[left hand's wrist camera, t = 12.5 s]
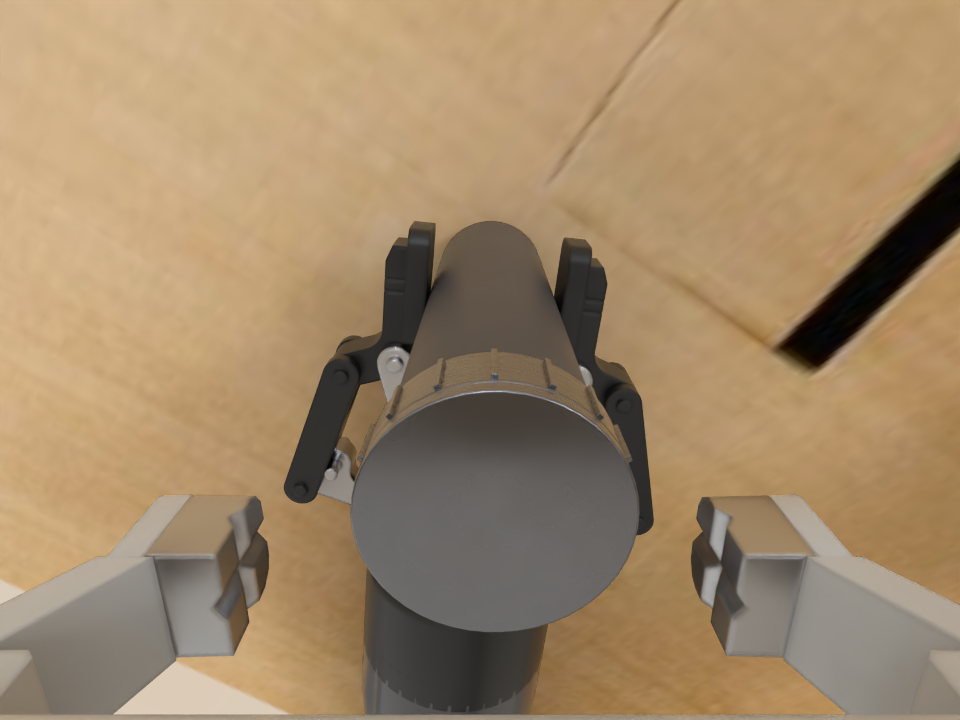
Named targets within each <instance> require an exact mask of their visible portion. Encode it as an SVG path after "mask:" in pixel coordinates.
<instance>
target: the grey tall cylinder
mask: <svg viewBox="0 0 960 720" xmlns="http://www.w3.org/2000/svg"><path fill="white" fill-rule="evenodd" d="M491 348H497V352H506V353H514V354H522V355H525V356H529V357H533V358H537V359H540V360H543V361H544V359H545V358H548V359H550V360H551V364H553V365H555V366H557V367H559V368H560V369H562V370H564V371H566V372H568V373H569V374H571V375H572V376H573V377H575V378H576V379H577V380H579V381H580V382H582V383H583V384H584V385H585V386H586V384H585V381H584V379H583V376H582V373H581V370H580V368H579V365H578V362H577V359H576V357H575V354H574V351H573V348H572V346H571V343H570V340H569V337H568V335H567V332H566V329H565V326H564V324H563V321H562V318H561V315H560V313H559V310H558V307H557V304H556V302H555V299H554V296H553V294H552V291H551V288H550V285H549V283H548V280H547V277H546V274H545V272H544V269H543V266H542V263H541V261H540V258H539V255H538V253H537V250H536V248H535V246H534V245H533V243H532V242H531V240H530V239H529V238H528V237H527V236H526V235H525V234H524V233H523V232H521V231H520V230H519V229H517V228H515V227H513V226H511V225H509V224H505V223H502V222H495V221H486V222H480V223H476V224H473V225H471V226H468V227H466V228H465V229H463V230H461V231H460V232H459V233H458V234H456V235H455V236H454V237H453V238H452V240H451V241H450V242H449V244H448V245H447V247H446V249H445V251H444V253H443V256H442V259H441V262H440V265H439V268H438V271H437V274H436V277H435V280H434V283H433V286H432V289H431V292H430V295H429V298H428V302H427V305H426V308H425V311H424V314H423V317H422V320H421V323H420V326H419V329H418V332H417V335H416V338H415V341H414V344H413V347H412V350H411V353H410V357H409V360H408V363H407V366H406V369H405V372H404V375H403V378H402V381H401V384H400V386H401V387H402V386H403V385H404V384H405V383H407V382H408V381H409V380H411V379H412V378H413V377H415V376H416V375H418V374H419V373H420V372H422V371H424V370H426V369H428V368H430V367H431V366H433V365H435V364H437V362H438V359H440V358H444V360H445V361H446V360H448V359H451V358H455V357H459V356H463V355H467V354H474V353H482V352H491Z"/></svg>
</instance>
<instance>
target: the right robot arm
mask: <svg viewBox="0 0 960 720" xmlns="http://www.w3.org/2000/svg"><path fill="white" fill-rule="evenodd" d="M434 242H435V223H428V222H418V221H414V223H413V224H412V225H411V227H410V229H409V235H408V238H400V237H399V238H398V239H397V240H396V242H395V243H394V244H393V246H392V248H391V250H390V252H389V254H388V257H387V259H386V265H385V286H384V289H385V291H384V308H383V329H382V331H381V332H380V333H378V334H376V335H372V336H368V337H364V338H362V337H359V336H349V337H346V338H345V339H343V340H342V342H341V343H340V345H339V346H338V348H337V350H336V353H335V355H334V356H333V358H331V359H330V360H329V362H328V363H327V365H326V366H325V368H324V370H323V373H322V376H321V379H320V382H319V385H318V388H317V390H316V393H315V396H314V399H313V402H312V405H311V408H310V411H309V414H308V417H307V420H306V423H305V426H304V428H303V431H302V434H301V437H300V440H299V443H298V446H297V449H296V452H295V455H294V458H293V461H292V463H291V466H290V469H289V472H288V475H287V478H286V481H285V484H284V491H285V493H286V495H287V496H288V498H290V499H291V500H292V501H294V502H297V503H308V502H311V501H312V500H313V499H314V498H315V497H316V495H317V493H318V494H321V495H324V496H327V497H330V498H333V499H336V500H339V501H341V502H344V503H347V504H350V505H351V496H352V491H353V487H354V482H355V479H356V476H357V473H358V471H359V469H358V467H357V465H356V462H355V457H356V449H355V447H354V445H353V444H352V443H351V442H350V440H349V439H348V438H346V437H341V436H342V433H343V430H344V428H345V425H346V422H347V419H348V417H349V414H350V411H351V409H352V406H353V403H354V400H355V398H356V395H357V392H358V390H359V387H360V385H361V384H366V383H370V382H374V381H379V380H381V382H382V385H383V389H384V392H385V396H386V399H387V403H388V402H389V401H390V399H391V398H392V395H393V392H394V390H395V387H396V386H397V385H400V384H401V381H402V378H403V375H404V372H405V369H406V366H407V363H408V360H409V357H410V353H411V350H412V347H413V344H414V341H415V338H416V335H417V332H418V329H419V326H420V323H421V320H422V317H423V314H424V311H425V308H426V305H427V302H428V298H429V295H430V292H431V282H432V269H433V256H434ZM606 288H607V280H606V276H605V271H604V268H603V266H602V265H601V264H600V262H599V261H598V260H597V259H595V258H592V248H591V246H590V245H589V244H588V243H587V241H586V240H583V239H574V238H564V240H563V243H562V248H561V255H560V261H559V268H558V274H557V281H556V288H555V294H554V299H555V302H556V304H557V307H558V310H559V313H560V315H561V318H562V321H563V324H564V326H565V329H566V332H567V335H568V337H569V340H570V343H571V346H572V348H573V351H574V354H575V357H576V359H577V362H578V365H579V368H580V370H581V373H582V376H583V379H584V381H585V384H586V387H587V386H589V385H591V386H592V387H593V388H594V391H595V394H596V396H597V399H598V400H599V402H600V403H601V404H602V406H603V407H604V409H605V411H606V412H607V414H608V416H609V418H610V419H611V422H612V424H613V425H616V424H618V427H619V429H620V431H621V434H622V436H623V439H624V441H625V443H626V446H627V448H628V451H629V453H630V455H631V458H632V461H631V462H628V464H629V466H630V469H631V471H632V474H633V477H634V479H635V483H636V487H637V492H638V497H639V522H638V530H637V534H636V535H641V534H644V533H646V532H647V531H649V530H650V529H651V527H652V525H653V522H654V518H653V508H652V498H651V488H650V478H649V468H648V458H647V448H646V439H645V429H644V419H643V409H642V401H641V398H640V396H639V394H638V392H637V390H636V388H635V387H634V385H633V383H632V381H631V379H630V377H629V375H628V374H627V372H626V370H625V368H624V367H623V366H622V365H620V364H618V363H613V362H611V363H608V362H606V361H604V360H601V359H599V358H598V357H596V356H595V348H596V343H597V337H598V332H599V327H600V321H601V316H602V310H603V305H604V299H605V294H606ZM547 626H548V624H546V625H543V626H539V627H536V628H531V629H526V630H521V631H511V632H478V631H469V630H464V629H459V628H454V627H450V626H447V625H444V624H441V623H438V622H435V621H433V620H430V619H428V618H426V617H424V616H421V615H419V614H418V613H416V612H414V611H412V610H411V609H409V608H407V607H406V606H404V605H403V604H402V603H400V602H399V601H398V600H396V599H395V598H394V597H392V596H391V595H390V594H389V593H388V592H387V591H386V590H385V589H384V588H383V587H382V586H381V585H380V584H379V583H378V581H377V580H376V579H375V578H374V576H373V575H372V574H371V573H370V571H369V569H368V568H367V576H366V598H365V620H364V642H363V667H362V691H363V700H364V708H365V714H366V715H530V712H531V708H532V704H533V700H534V696H535V691H536V686H537V681H538V675H539V670H540V664H541V659H542V653H543V648H544V642H545V637H546V632H547Z"/></svg>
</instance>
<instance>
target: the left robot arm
mask: <svg viewBox="0 0 960 720" xmlns="http://www.w3.org/2000/svg"><path fill="white" fill-rule="evenodd" d="M263 519H264V518H263V512H262V507H261V502H260V500H259V499H258V498H257V497H256V496H226V495H164V496H160V497H158V498H157V499H156V500H155V502H154V503H153V504H152V505H151V506H150V507H149V509H148V510H147V511H146V512H145V513H144V514H143V515H142V517H141V518H140V519H139V520H138V521H137V522H136V524H135V525H134V526H133V527H132V528H131V529H130V530H129V532H128V533H127V534H126V535H125V536H124V537H123V539H122V540H121V541H120V542H119V543H118V544H117V545H116V547H115V548H114V549H113V550H112V551H111V552H110V554H109V555H108V556H107V557H95V558H93V559H91V560H89V561H87V562H85V563H83V564H81V565H79V566H77V567H75V568H73V569H71V570H69V571H67V572H65V573H63V574H61V575H59V576H57V577H55V578H53V579H51V580H49V581H47V582H45V583H43V584H41V585H39V586H37V587H35V588H33V589H31V590H29V591H27V592H25V593H23V594H21V595H19V596H17V597H15V598H13V599H11V600H8V601H6V602H5V603H2V604H1V605H0V720H960V605H959V604H957V603H955V602H953V601H951V600H949V599H947V598H945V597H943V596H941V595H939V594H937V593H935V592H933V591H931V590H929V589H927V588H925V587H923V586H921V585H919V584H917V583H915V582H913V581H911V580H909V579H907V578H905V577H903V576H901V575H899V574H897V573H895V572H893V571H891V570H889V569H887V568H885V567H883V566H881V565H879V564H877V563H875V562H873V561H871V560H869V559H867V558H865V557H853V556H852V555H851V554H850V552H849V551H848V550H847V549H846V548H845V547H844V545H843V544H842V543H841V542H840V541H839V540H838V539H837V537H836V536H835V535H834V534H833V533H832V532H831V530H830V529H829V528H828V527H827V526H826V525H825V524H824V522H823V521H822V520H821V519H820V518H819V517H818V515H817V514H816V513H815V512H814V511H813V510H812V509H811V507H810V506H809V505H808V504H807V503H806V502H805V501H804V499H803V498H802V497H800V496H797V495H795V494H789V495H764V496H729V497H702V499H701V501H700V503H699V505H698V512H697V518H696V519H697V521H698V523H699V525H700V527H701V529H702V530H703V532H702V533H701V534H700V535H699V536H698V537H697V538H696V539H695V540H694V541H693V545H692V554H691V566H692V577H693V581H694V584H695V588H696V591H697V593H698V595H699V597H700V600H701V601H702V602H703V603H705V604H706V605H708V606H709V607H710V608H712V609H713V611H712V617H711V624H712V626H713V628H714V630H715V632H716V634H717V636H718V639H719V641H720V643H721V645H722V647H723V649H724V651H725V653H726V655H727V656H754V657H784V661H785V662H787V663H788V664H789V665H790V666H791V667H792V668H794V669H795V670H796V671H797V672H798V673H799V674H801V675H802V676H803V677H804V678H805V679H807V680H808V681H809V682H810V683H811V684H812V685H814V686H815V687H816V688H817V689H818V690H819V691H821V692H822V693H823V694H824V695H825V696H826V697H828V698H829V699H830V700H831V701H832V702H833V703H835V704H836V705H837V706H838V707H839V708H840V709H842V710H843V711H844V712H845V713H846V714H848V715H113V714H114V713H115V712H116V711H117V710H118V709H120V708H121V707H122V706H123V705H124V704H126V703H127V702H128V701H129V700H130V699H131V698H133V697H134V696H135V695H136V694H137V693H138V692H140V691H141V690H142V689H143V688H144V687H146V686H147V685H148V684H149V683H150V682H151V681H153V680H154V679H155V678H156V677H157V676H158V675H160V674H161V673H162V672H163V671H164V670H165V669H167V668H168V667H169V666H170V665H171V664H173V663H174V662H175V661H176V657H205V656H234V654H235V651H236V649H237V647H238V645H239V643H240V641H241V639H242V636H243V634H244V632H245V630H246V628H247V626H248V624H249V617H248V611H247V609H248V608H250V607H251V606H252V605H254V604H255V603H257V602H258V601H259V600H260V597H261V595H262V593H263V590H264V588H265V585H266V580H267V575H268V570H269V552H268V545H267V541H266V540H265V539H264V538H263V537H262V536H261V535H260V534H259V533H258V532H257V530H258V529H259V527H260V525H261V523H262V521H263Z"/></svg>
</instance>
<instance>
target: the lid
mask: <svg viewBox="0 0 960 720" xmlns="http://www.w3.org/2000/svg"><path fill="white" fill-rule="evenodd" d="M357 460H358V461H360V462H361V465H360V468H359V471H358V473H357V476H356V479H355V482H354V487H353V491H352V496H351V510H350V513H351V524H352V530H353V534H354V538H355V542H356V545H357V547H358V550H359V552H360V555H361V557H362V559H363V561H364V563H365V564H366V566H367V568H368V569H369V571H370V573H371V574H372V575H373V576H374V578H375V579H376V580H377V581H378V583H379V584H380V585H381V586H382V587H383V588H384V589H385V590H386V591H387V592H388V593H389V594H390V595H391V596H392V597H394V598H395V599H396V600H398V601H399V602H400V603H402V604H403V605H404V606H406V607H407V608H409V609H411V610H412V611H414V612H416V613H418V614H419V615H421V616H424V617H426V618H428V619H430V620H433V621H435V622H438V623H441V624H444V625H447V626H450V627H454V628H459V629H464V630H469V631H478V632H511V631H521V630H526V629H531V628H536V627H539V626H543V625H546V624H549V623H552V622H555V621H557V620H559V619H562V618H564V617H566V616H569V615H570V614H572V613H574V612H576V611H577V610H579V609H581V608H583V607H584V606H585V605H587V604H588V603H590V602H591V601H592V600H594V599H595V598H596V597H597V596H599V595H600V594H601V593H602V592H603V591H604V590H605V589H606V588H607V587H608V586H609V585H610V584H611V582H612V581H613V580H614V579H615V577H616V576H617V575H618V574H619V572H620V571H621V569H622V567H623V566H624V564H625V562H626V561H627V559H628V557H629V554H630V552H631V550H632V547H633V545H634V541H635V537H636V534H637V530H638V522H639V497H638V492H637V487H636V483H635V479H634V477H633V474H632V471H631V469H630V466H629V464H628V462H631V461H632V458H631V455H630V453H629V451H628V448H627V446H626V443H625V441H624V439H623V436H622V434H621V431H620V429H619V427H618V424H616V425H613V424H612V422H611V419H610V418H609V416H608V414H607V412H606V411H605V409H604V407H603V406H602V404H601V403H600V402H599V400H598V399H597V396H596V394H595V391H594V388H593V387H592V386H591V385H589V386H587V387H586V386H585V385H584V384H583V383H582V382H580V381H579V380H577V379H576V378H575V377H573V376H572V375H571V374H569V373H568V372H566V371H564V370H562V369H560V368H559V367H557V366H555V365H553V364H551V360H550V359H548V358H545V359H544V361H543V360H540V359H537V358H533V357H529V356H525V355H522V354H514V353H506V352H497V348H491V352H482V353H474V354H467V355H463V356H459V357H455V358H451V359H448V360H446V361H445V360H444V358H440V359H438V362H437V364H435V365H433V366H431V367H430V368H428V369H426V370H424V371H422V372H420V373H419V374H418V375H416V376H415V377H413V378H412V379H411V380H409V381H408V382H407V383H405V384H404V385H403V386H402V387H401V386H400V385H397V386H396V387H395V390H394V392H393V395H392V398H391V399H390V401H389V402H388V403H387V404H386V406H385V407H384V409H383V411H382V412H381V414H380V416H379V418H378V419H377V422H376V425H374V424H371V425H370V427H369V430H368V432H367V435H366V438H365V440H364V443H363V446H362V448H361V451H360V453H359V456H358V459H357Z"/></svg>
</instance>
